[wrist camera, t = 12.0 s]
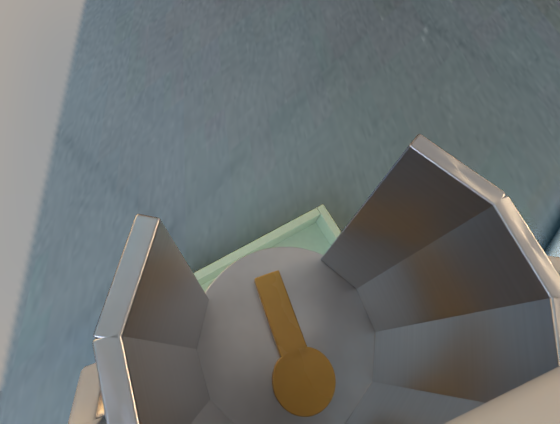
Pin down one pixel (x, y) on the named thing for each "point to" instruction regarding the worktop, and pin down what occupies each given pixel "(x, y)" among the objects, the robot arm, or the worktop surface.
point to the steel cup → (342, 311)
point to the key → (294, 354)
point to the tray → (281, 241)
